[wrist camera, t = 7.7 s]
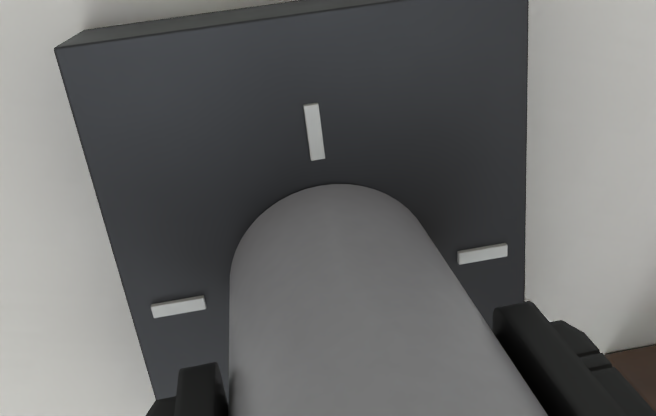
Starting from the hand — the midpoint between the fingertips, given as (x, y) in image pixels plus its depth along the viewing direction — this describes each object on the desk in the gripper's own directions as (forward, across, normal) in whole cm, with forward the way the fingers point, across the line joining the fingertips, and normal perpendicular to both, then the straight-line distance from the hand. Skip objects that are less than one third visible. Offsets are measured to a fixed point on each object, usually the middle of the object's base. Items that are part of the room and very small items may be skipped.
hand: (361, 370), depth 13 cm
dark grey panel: (+8, 0, 0) cm, 8 cm away
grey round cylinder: (+4, 0, 0) cm, 4 cm away
